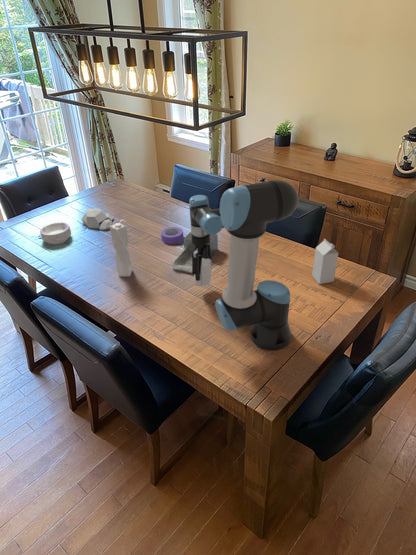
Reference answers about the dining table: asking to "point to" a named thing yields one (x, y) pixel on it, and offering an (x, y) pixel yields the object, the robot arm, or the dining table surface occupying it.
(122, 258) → the skyscraper
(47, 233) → the paper bowls
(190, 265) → the grey cabinet
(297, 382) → the dining table surface
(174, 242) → the tape roll
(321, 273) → the white milk carton
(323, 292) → the dining table surface
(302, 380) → the dining table surface
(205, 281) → the white cup
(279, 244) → the dining table surface
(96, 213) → the rock
